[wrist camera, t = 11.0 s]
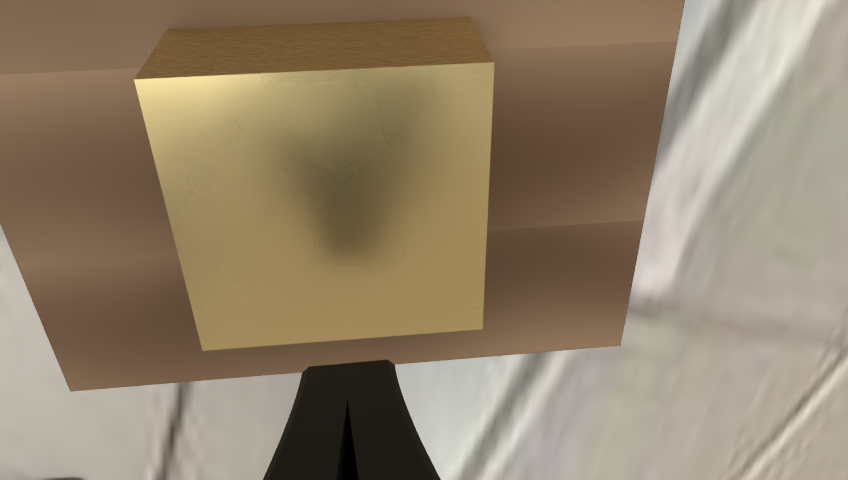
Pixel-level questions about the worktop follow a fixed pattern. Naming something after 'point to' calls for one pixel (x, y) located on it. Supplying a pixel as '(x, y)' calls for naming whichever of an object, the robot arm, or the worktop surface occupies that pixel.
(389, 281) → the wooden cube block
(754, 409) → the worktop surface
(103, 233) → the brown wooden block
